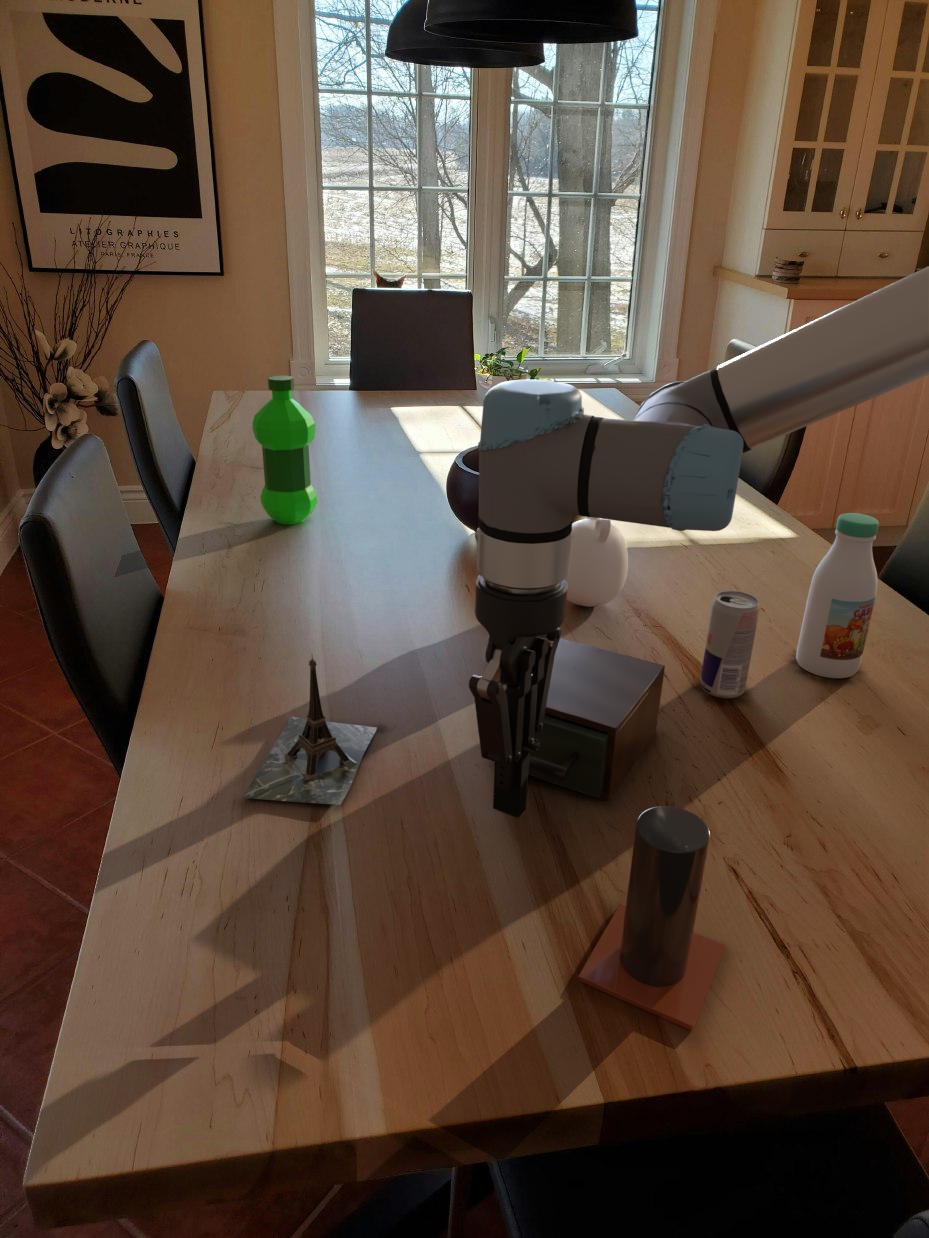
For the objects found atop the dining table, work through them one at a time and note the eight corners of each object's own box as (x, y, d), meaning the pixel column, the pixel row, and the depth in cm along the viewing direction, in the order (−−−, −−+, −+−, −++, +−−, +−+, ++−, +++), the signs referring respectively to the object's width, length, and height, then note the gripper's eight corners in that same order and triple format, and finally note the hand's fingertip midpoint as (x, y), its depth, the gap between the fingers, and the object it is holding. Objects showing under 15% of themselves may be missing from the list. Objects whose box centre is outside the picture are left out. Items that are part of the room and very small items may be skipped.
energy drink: (706, 673, 113) (720, 586, 108) (749, 684, 111) (765, 596, 106) (693, 691, 109) (707, 602, 104) (738, 704, 107) (754, 613, 101)
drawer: (581, 822, 85) (587, 762, 82) (476, 784, 90) (478, 727, 87) (644, 734, 99) (651, 680, 96) (550, 705, 104) (554, 653, 101)
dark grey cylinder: (695, 951, 71) (718, 820, 66) (674, 997, 67) (698, 861, 62) (632, 926, 74) (650, 797, 68) (609, 969, 70) (626, 836, 64)
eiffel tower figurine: (289, 719, 102) (281, 613, 96) (377, 727, 100) (374, 620, 95) (243, 800, 88) (230, 682, 82) (344, 810, 87) (338, 692, 81)
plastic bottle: (327, 512, 165) (320, 374, 154) (305, 532, 155) (296, 386, 145) (276, 507, 167) (266, 370, 156) (251, 526, 157) (238, 381, 147)
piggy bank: (531, 591, 135) (536, 495, 128) (602, 582, 138) (610, 489, 132) (564, 626, 124) (572, 524, 118) (640, 616, 128) (652, 516, 121)
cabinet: (608, 801, 89) (616, 728, 85) (496, 763, 95) (499, 692, 91) (656, 732, 101) (665, 665, 97) (553, 701, 106) (558, 637, 102)
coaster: (725, 949, 72) (726, 944, 72) (692, 1031, 65) (692, 1026, 65) (619, 907, 76) (620, 903, 76) (577, 980, 69) (577, 975, 69)
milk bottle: (791, 671, 114) (821, 522, 105) (798, 646, 120) (827, 504, 112) (856, 685, 111) (892, 533, 102) (860, 659, 117) (895, 513, 109)
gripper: (517, 543, 80) (506, 762, 90) (440, 593, 70) (438, 834, 80) (595, 560, 77) (574, 786, 87) (527, 616, 67) (512, 864, 77)
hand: (509, 808), depth 84 cm, fingers closed
